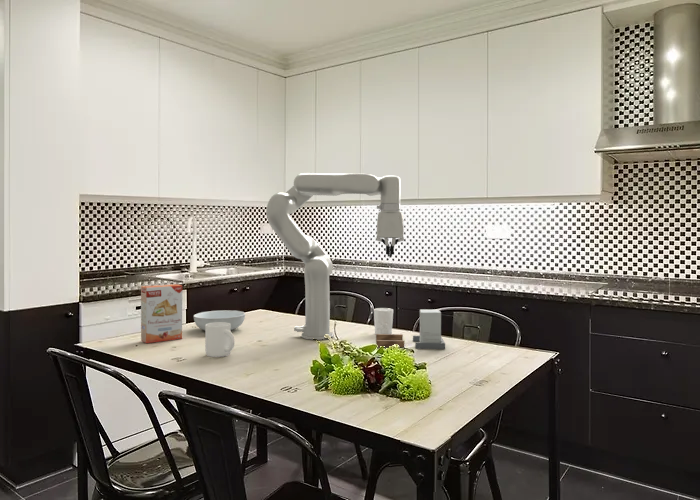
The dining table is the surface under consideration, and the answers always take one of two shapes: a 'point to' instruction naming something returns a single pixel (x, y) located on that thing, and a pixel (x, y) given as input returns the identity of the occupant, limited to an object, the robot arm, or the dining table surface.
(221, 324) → the mug
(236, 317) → the serving bowl
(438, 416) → the dining table surface
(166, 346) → the dining table surface
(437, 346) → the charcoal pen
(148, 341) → the cracker box
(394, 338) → the walnut rails
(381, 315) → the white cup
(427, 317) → the supplement box
